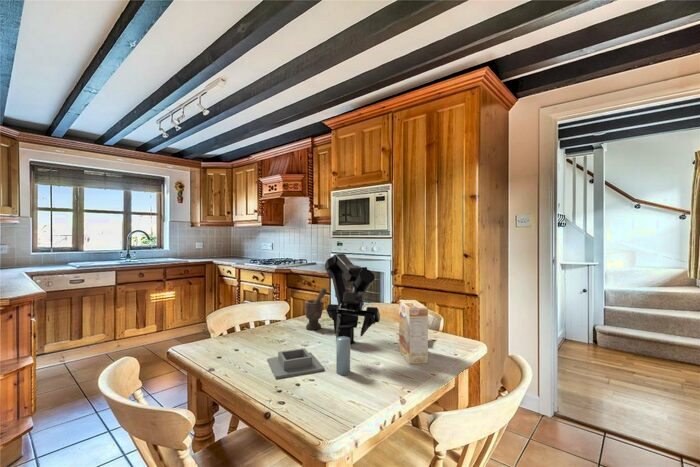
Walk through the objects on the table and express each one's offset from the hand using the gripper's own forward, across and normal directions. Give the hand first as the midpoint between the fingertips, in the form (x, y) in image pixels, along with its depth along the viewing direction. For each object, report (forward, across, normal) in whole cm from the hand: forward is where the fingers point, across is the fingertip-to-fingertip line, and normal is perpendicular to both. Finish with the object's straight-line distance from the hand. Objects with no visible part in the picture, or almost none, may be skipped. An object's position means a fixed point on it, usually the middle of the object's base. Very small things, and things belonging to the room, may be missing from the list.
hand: (348, 334), depth 110 cm
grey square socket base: (+11, -18, +5) cm, 21 cm away
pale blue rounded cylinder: (+11, 0, +5) cm, 12 cm away
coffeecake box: (-4, +20, +20) cm, 28 cm away
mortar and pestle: (-20, -28, +36) cm, 50 cm away
